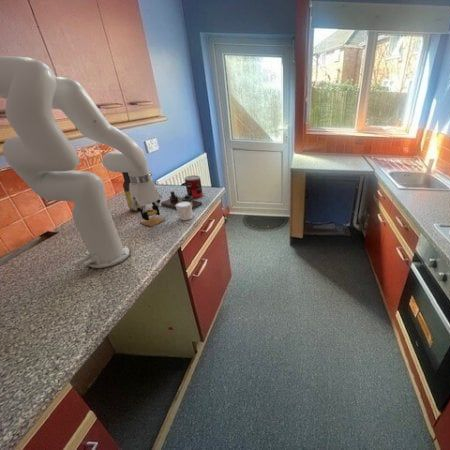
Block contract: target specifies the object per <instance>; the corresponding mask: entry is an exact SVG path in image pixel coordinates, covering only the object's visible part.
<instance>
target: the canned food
mask: <svg viewBox="0 0 450 450" xmlns="http://www.w3.org/2000/svg"><path fill="white" fill-rule="evenodd" d="M184 182H185V183H184V184H185V188H186V193H187V195H189V196H192V197H193V199H199V198H201V197H203V193H204V192H203V186H202V181H201V176H199V175H196V174H195V175H188V176H185V177H184Z"/></svg>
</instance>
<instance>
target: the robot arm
mask: <svg viewBox="0 0 450 450" xmlns="http://www.w3.org/2000/svg"><path fill="white" fill-rule="evenodd" d="M0 98H1V99H4V100H6V101H5V108H4V111H5V117H6V119H7V121H8V123H9V125H10V127H11V129H13V131H14V132H15V133H16V135H13V136H11V137H9V138H7V139H6V140H5V141H4V142H3V145H2V154H3V157H4V159H5V161H6V162H7V164H8V166H9V167H10V168H11V169H12V170H13V171H14V172H15V173H16V174H17V176H19V178H20V179H22V181H23V182H24V183H25V184H26V185H27V186H28V187H29V189H31V190H32V191H33V192H34V193H35V194H36V195H37V196H38V197H40V198H42V199H45V200H48V201H53V202H54V201H55V202H70V203H73V208H72V213H71V214H72V220H73V222H74V224H75V226H76V229H77V230H78V232H79V234H80V237H81V239H82V242H83V244H84V246H85V248H86V251H85V252H84V255H83V256H82V257H81V258H79V259H77V260H75V261H73V262H72V264H73V266H74V267H76V268H78V267H80V266H81V265H83V266H84V267H87V266H88V267H90V268H93V269H94V268H95V269H103V268H109V267H112V266H115V265H117V264H120V263H122V262H123V261H125V260H126V259H127V258H128V257H129V256H130V253H131V251H130V249H129V247H128V246H125V245H123V244H122V241H121V238H120V235H119V232H118V230H117V227H116V225H115V221H114V219H113V216H112V214H111V211H110V208H109V205H108V201H107V197H106V189H105V184H104V181H103V179H102V178H101V177H100V176H99V175H97V174H96V173H94V172H91V171H87V170H76V169H77V168H78V166H79V165H80V157H79V155H78V153H77V151H76V149H75V148H74V147H73V144H72V143H71V141H70V140H69V139H68V137H67V136H66V135H65V133H64V131H63V130H62V128H61V127H60V126H59V124H58V122H57V120H56V118H55V116H54V114H53V110H60V111H61V112H62V113H63V114H64V115H65V116H66V118H68V120H69V121H70V122H71V123H72V124H73V125H74V127H75V128H76V129H77V131H79V133H80V134H81V135H82V136H83V137H85V138H87V139H89V140H92V141H94V142H96V143H99V144H102V145H104V146H105V145H106V146H108V147H111V148H113V149H114V150H113V151H109V152H106V153H104V155H103V156H102V157H101V158H102V159H101V164H102V166H103V167H104V168H105V169H106V170H108V171H110V172H112V173H113V172H114V173H122V172H128V174H129V178H130V181H131V183H129V190H130V196H131V200H132V205H131V209H134V210H137V211H136V212H139V213H140V215H141V219H142V220H143V221H145V220H149V218H150V216H148V214H147V212H145V211H146V206H147V205H150V204H151V209H156V210H157V214H155V215H156V216H160V215H161V212H160V209H159V207H160V204H161V200H162V199H163V195H161V194H160V193H159V191H158V188H157V185H156V183H155V181H154V179H152V176H153V173H152V172H150V168H149V165H148V160H147V158H146V154H145V151H144V149H143V148H141V147H140V146H139V144H138V143H137V142H136V141H135V140H134V139H132V138H131V136H129V135H127V134H126V133H124V132H123V131H122V130H120V129H118V128H117V127H115V126H114V125H112V124H111V123H110V122H109V121H108V119H106V117H105V116H104V114H103V113H102V111H101V110H100V108H99V107H98V105H96V103H95V102H94V100H93V99H92V97H91V96H90V94H89V93H88V92H87V90H86V89H85V88H84V87H83V85H82V84H81V83H79V82H78V81H77V80H75V79H72V78H70V77H65V76H55V73H54V72H53V70H52V68H50V67H49V65H47V64H46V63H44V62H43V61H41V60H39V59H35V58H32V57H26V56H11V55H5V56H4V55H0ZM137 205H138V208H137V207H136V206H137ZM155 215H154V216H155Z"/></svg>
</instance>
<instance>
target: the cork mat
mask: <svg viewBox="0 0 450 450" xmlns="http://www.w3.org/2000/svg"><path fill="white" fill-rule="evenodd" d="M163 222H165V219H164V218H161V217H157V216H152V217H149V220H143V221H140V224H142V225H144V226H147V227H154V226H156V225H158V224H160V223H163Z"/></svg>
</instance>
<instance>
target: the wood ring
mask: <svg viewBox="0 0 450 450" xmlns="http://www.w3.org/2000/svg"><path fill="white" fill-rule="evenodd" d="M181 198H182V201H186V202H187V201H191V200H194V198H193V197H192V196H189V199H186V198H185V196H183V197H181Z"/></svg>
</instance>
